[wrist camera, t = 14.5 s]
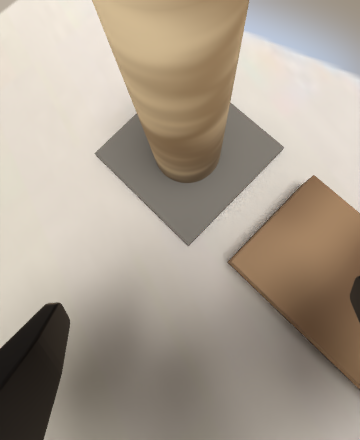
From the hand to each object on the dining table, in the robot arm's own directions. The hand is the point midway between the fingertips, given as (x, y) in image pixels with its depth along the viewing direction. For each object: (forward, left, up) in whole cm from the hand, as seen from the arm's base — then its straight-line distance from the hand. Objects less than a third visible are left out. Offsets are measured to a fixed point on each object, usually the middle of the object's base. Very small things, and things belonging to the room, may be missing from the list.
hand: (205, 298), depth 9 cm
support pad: (+6, +7, -9) cm, 13 cm away
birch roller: (+5, +7, -9) cm, 12 cm away
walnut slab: (+6, -6, -9) cm, 12 cm away
